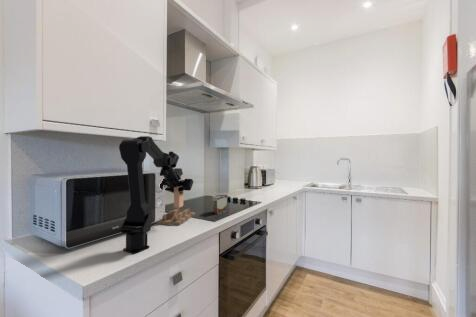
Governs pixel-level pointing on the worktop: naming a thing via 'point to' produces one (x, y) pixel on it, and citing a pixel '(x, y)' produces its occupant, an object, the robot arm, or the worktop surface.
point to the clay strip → (178, 198)
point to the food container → (220, 203)
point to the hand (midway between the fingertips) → (179, 193)
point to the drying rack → (176, 217)
